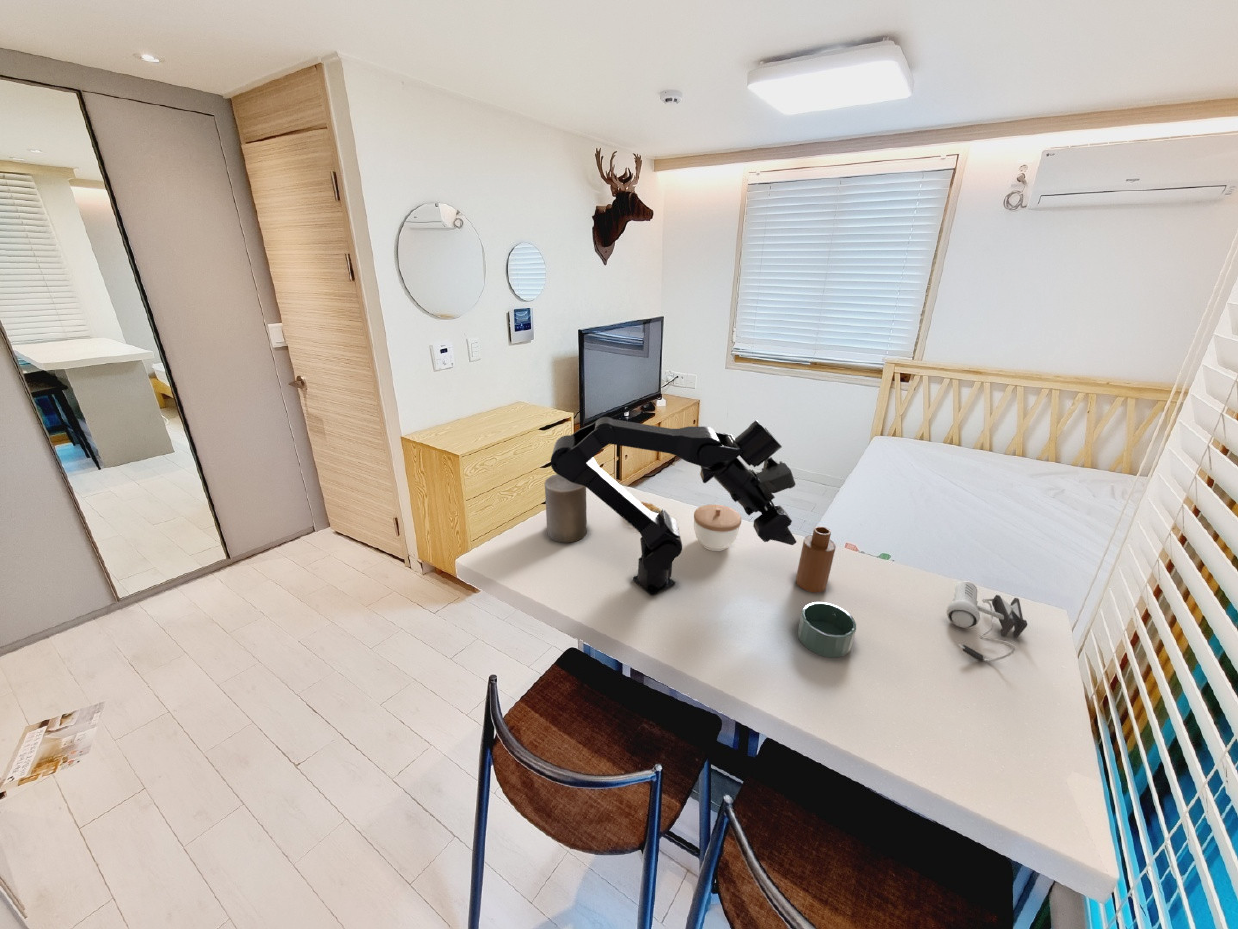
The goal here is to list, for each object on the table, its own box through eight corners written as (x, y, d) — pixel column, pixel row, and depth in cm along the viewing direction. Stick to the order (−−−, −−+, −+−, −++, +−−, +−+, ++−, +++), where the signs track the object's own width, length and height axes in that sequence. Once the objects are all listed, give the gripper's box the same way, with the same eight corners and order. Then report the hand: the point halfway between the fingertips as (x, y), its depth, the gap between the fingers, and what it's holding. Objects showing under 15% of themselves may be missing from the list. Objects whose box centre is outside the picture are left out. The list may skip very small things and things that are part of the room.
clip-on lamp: (1013, 689, 85) (1016, 612, 97) (1031, 669, 81) (1032, 591, 93) (936, 655, 90) (947, 586, 102) (949, 634, 86) (959, 565, 98)
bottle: (814, 596, 101) (827, 542, 96) (789, 581, 106) (800, 528, 100) (831, 585, 105) (844, 532, 99) (807, 571, 109) (818, 519, 104)
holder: (831, 666, 85) (837, 645, 83) (787, 634, 92) (791, 614, 90) (861, 643, 90) (866, 623, 88) (816, 614, 96) (820, 595, 95)
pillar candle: (595, 531, 122) (595, 476, 116) (565, 548, 115) (564, 490, 109) (567, 517, 128) (566, 464, 122) (538, 532, 121) (535, 476, 115)
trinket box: (696, 528, 124) (699, 494, 120) (740, 537, 121) (745, 502, 117) (687, 551, 115) (690, 515, 111) (734, 561, 112) (739, 525, 108)
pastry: (621, 512, 130) (621, 499, 129) (640, 505, 135) (640, 492, 133) (645, 527, 124) (646, 514, 123) (665, 519, 128) (666, 506, 127)
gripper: (788, 474, 84) (840, 531, 89) (758, 434, 101) (803, 483, 106) (736, 515, 87) (789, 567, 92) (715, 469, 104) (761, 516, 109)
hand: (786, 530), depth 100 cm, fingers open, 9 cm apart
